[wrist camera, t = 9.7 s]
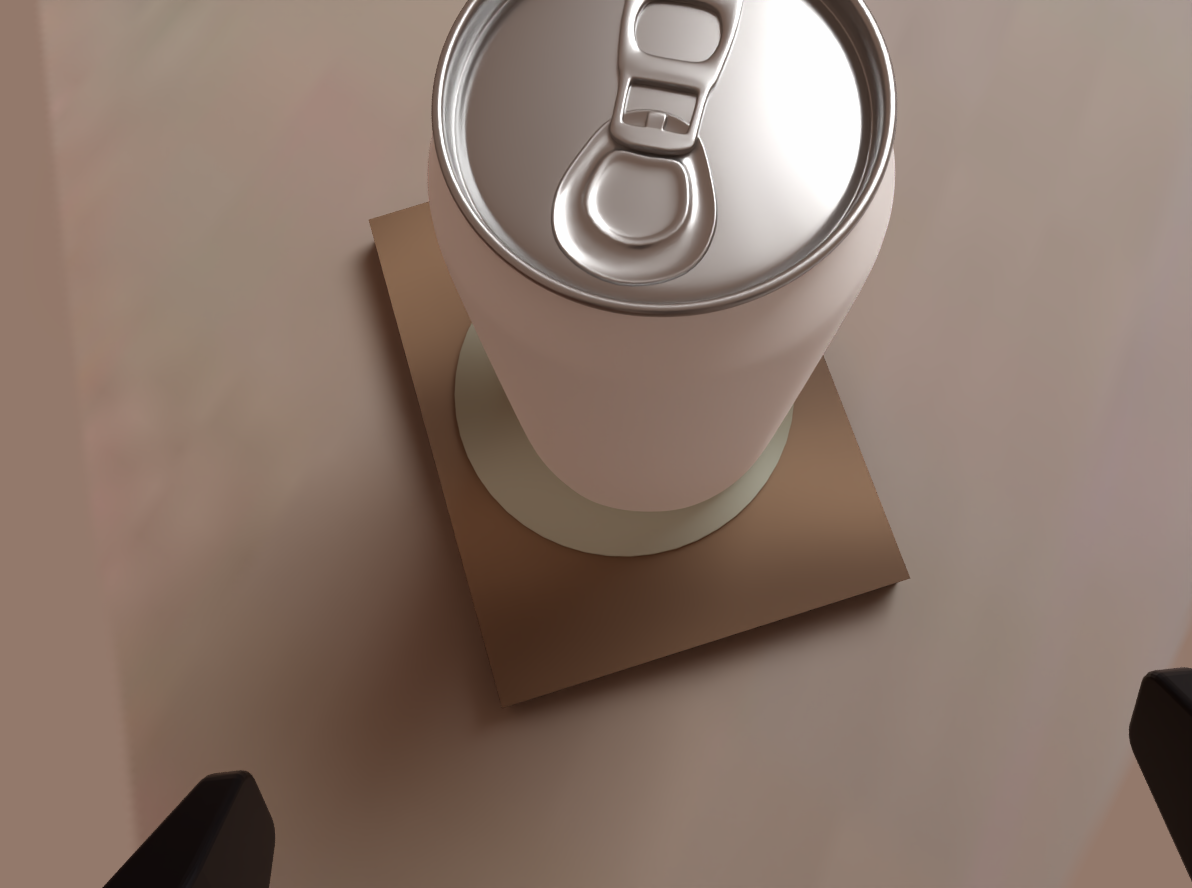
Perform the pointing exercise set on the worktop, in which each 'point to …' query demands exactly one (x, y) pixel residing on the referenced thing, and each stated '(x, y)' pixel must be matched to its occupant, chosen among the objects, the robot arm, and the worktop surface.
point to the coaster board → (620, 512)
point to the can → (659, 220)
